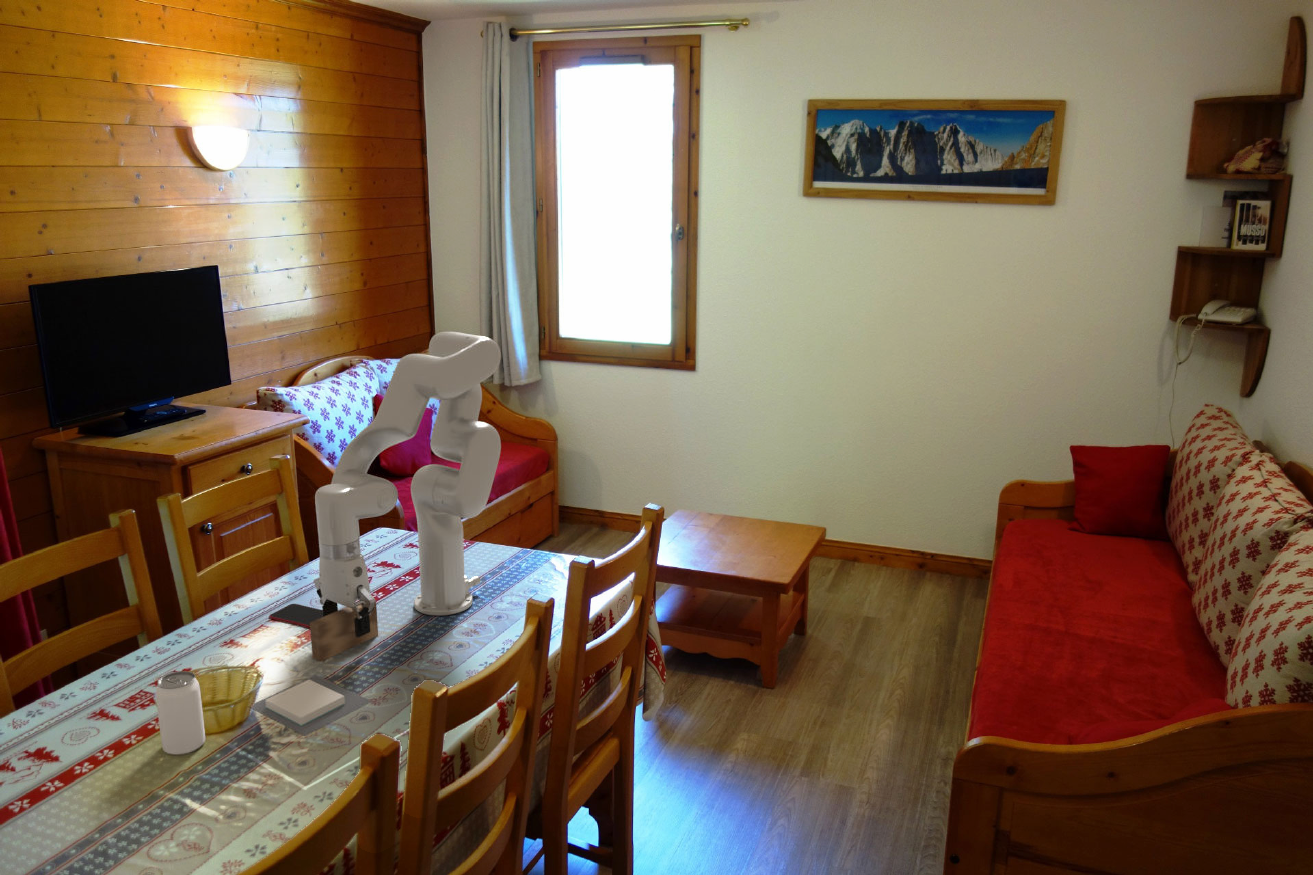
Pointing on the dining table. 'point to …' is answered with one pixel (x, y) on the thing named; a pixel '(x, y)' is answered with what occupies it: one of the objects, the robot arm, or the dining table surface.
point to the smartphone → (297, 615)
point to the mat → (350, 705)
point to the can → (180, 713)
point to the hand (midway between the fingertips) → (347, 627)
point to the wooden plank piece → (338, 633)
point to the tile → (305, 702)
